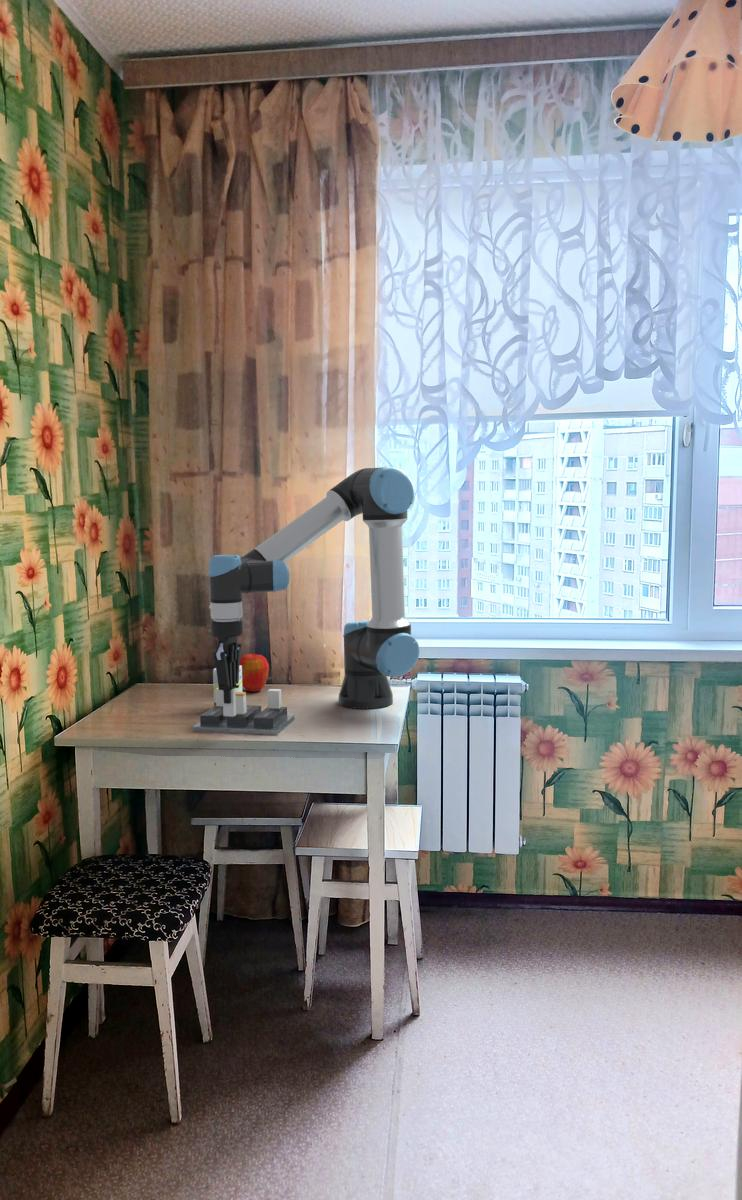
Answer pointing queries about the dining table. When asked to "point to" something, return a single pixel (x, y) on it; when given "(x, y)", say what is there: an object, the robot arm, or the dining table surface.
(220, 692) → the handle
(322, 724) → the dining table surface
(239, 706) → the handle mid
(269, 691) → the handle
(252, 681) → the apple
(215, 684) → the ink box
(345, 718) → the dining table surface
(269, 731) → the panel
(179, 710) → the dining table surface
